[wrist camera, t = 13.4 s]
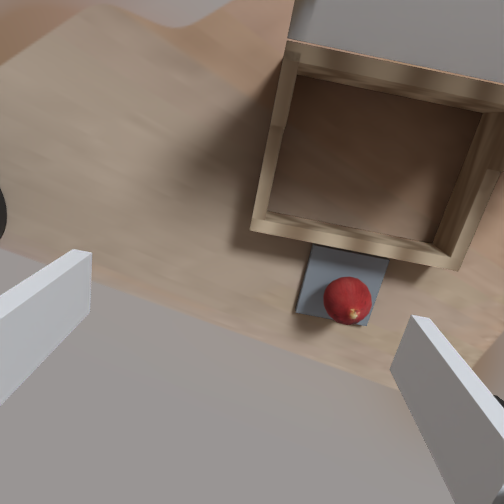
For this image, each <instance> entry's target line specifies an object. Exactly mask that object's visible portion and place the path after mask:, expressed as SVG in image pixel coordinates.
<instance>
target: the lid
mask: <svg viewBox="0 0 504 504" xmlns="http://www.w3.org/2000/svg"><path fill="white" fill-rule="evenodd" d="M287 38H289V39H294V40H299V41H303V42H308V43H313V44H318V45H322V46H327V47H332V48H337V49H342V50H346V51H351V52H356V53H361V54H366V55H370V56H375V57H380V58H385V59H389V60H394V61H399V62H404V63H409V64H413V65H418V66H423V67H428V68H433V69H437V70H442V71H447V72H452V73H456V74H461V75H466V76H471V77H476V78H480V79H485V80H490V81H495V82H500V83H504V0H295V2H294V7H293V12H292V17H291V22H290V27H289V32H288V37H287Z"/></svg>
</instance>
